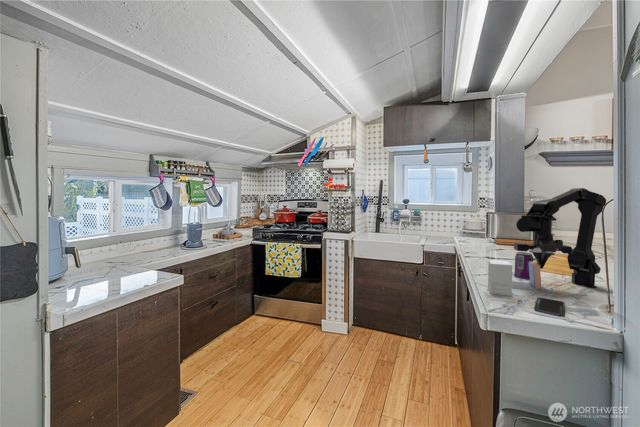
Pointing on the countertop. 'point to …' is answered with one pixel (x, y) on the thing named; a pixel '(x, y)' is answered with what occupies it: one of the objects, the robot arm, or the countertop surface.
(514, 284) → the mat
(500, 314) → the countertop surface
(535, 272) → the tile
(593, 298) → the countertop surface
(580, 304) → the countertop surface
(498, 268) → the supplement box
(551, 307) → the phone
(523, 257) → the beverage can
